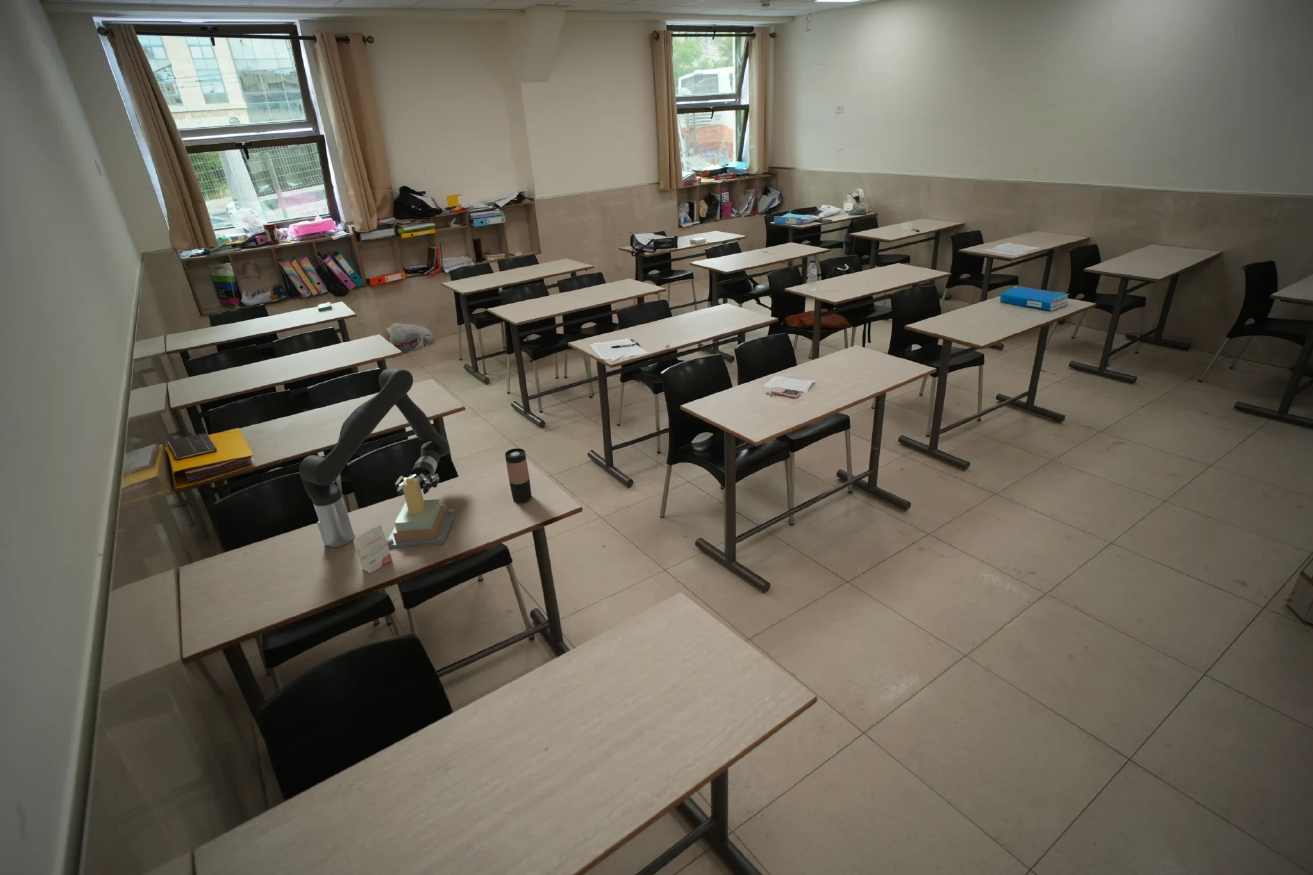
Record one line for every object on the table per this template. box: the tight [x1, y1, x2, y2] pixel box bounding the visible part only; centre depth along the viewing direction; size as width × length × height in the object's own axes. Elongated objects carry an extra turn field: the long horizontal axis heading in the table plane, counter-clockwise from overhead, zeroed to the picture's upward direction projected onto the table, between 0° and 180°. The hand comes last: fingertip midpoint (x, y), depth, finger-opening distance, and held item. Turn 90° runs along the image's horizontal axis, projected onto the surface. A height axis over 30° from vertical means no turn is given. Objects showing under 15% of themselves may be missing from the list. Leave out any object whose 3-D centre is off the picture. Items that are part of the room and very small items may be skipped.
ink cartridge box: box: [352, 524, 393, 574], centre depth 216 cm, size 9×5×15 cm, turn 143°
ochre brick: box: [402, 478, 425, 514], centre depth 230 cm, size 4×4×13 cm
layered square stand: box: [386, 498, 457, 549], centre depth 235 cm, size 20×20×8 cm
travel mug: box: [504, 447, 532, 504], centre depth 248 cm, size 8×8×20 cm
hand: (412, 492), depth 229 cm, fingers open, 8 cm apart
